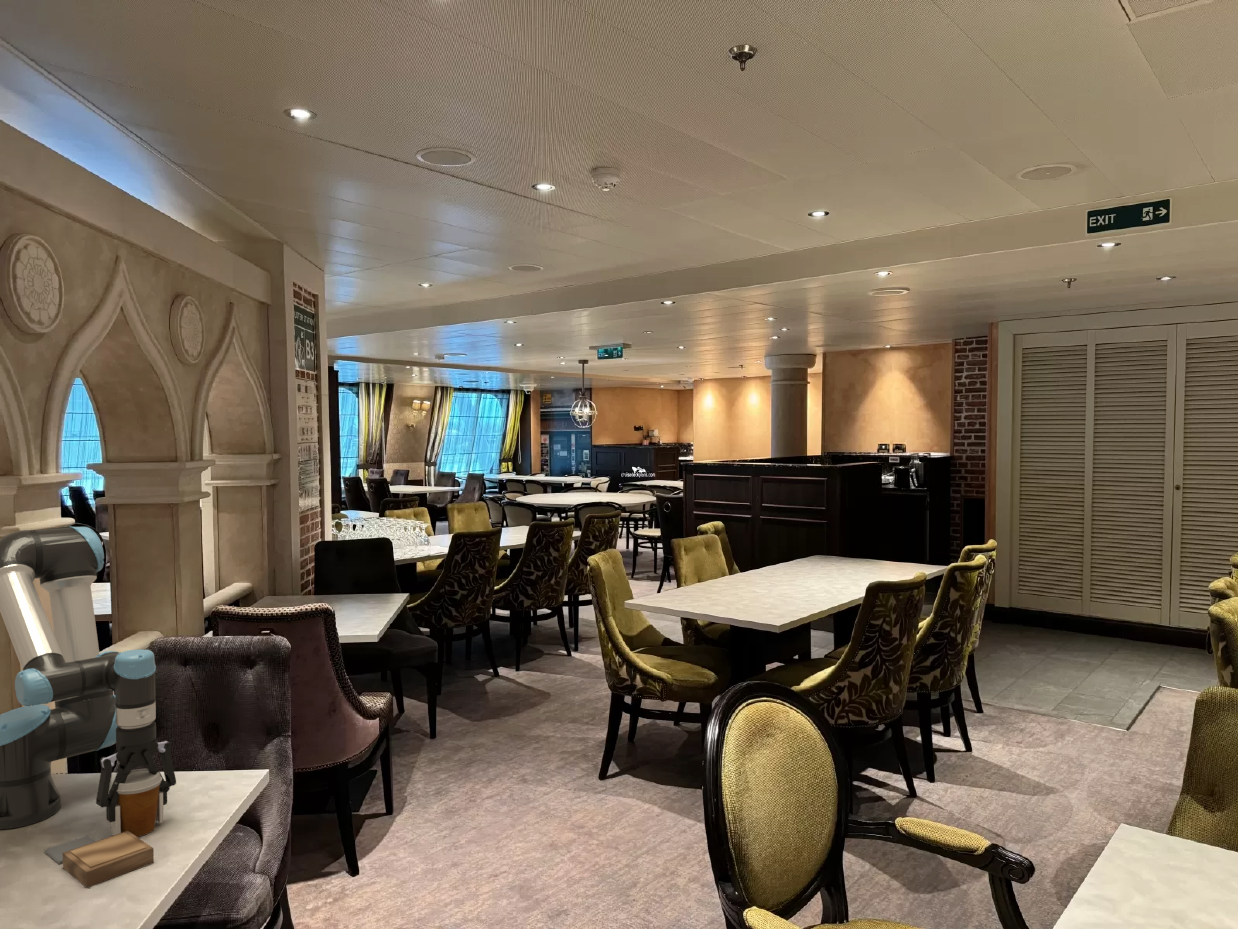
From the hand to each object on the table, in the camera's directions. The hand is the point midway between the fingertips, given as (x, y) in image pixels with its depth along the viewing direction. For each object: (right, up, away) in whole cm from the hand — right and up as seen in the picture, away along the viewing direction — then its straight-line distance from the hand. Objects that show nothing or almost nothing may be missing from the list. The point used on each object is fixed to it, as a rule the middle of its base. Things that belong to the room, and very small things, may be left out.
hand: (137, 827), depth 184 cm
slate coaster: (-8, -1, -9) cm, 12 cm away
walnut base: (+2, -1, -15) cm, 15 cm away
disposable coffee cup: (0, -1, 0) cm, 1 cm away
